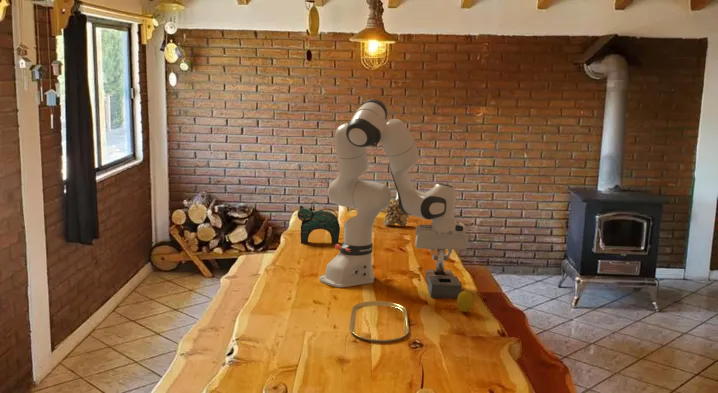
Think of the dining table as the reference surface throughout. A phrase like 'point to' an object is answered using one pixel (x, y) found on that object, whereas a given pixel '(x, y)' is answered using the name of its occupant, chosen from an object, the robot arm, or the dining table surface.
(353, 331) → the rounded metal frame
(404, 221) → the mineral formation
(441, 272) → the steel peg
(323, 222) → the ceramic cat
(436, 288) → the grey square-hole block
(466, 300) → the lemon
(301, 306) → the dining table surface
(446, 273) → the socket block
